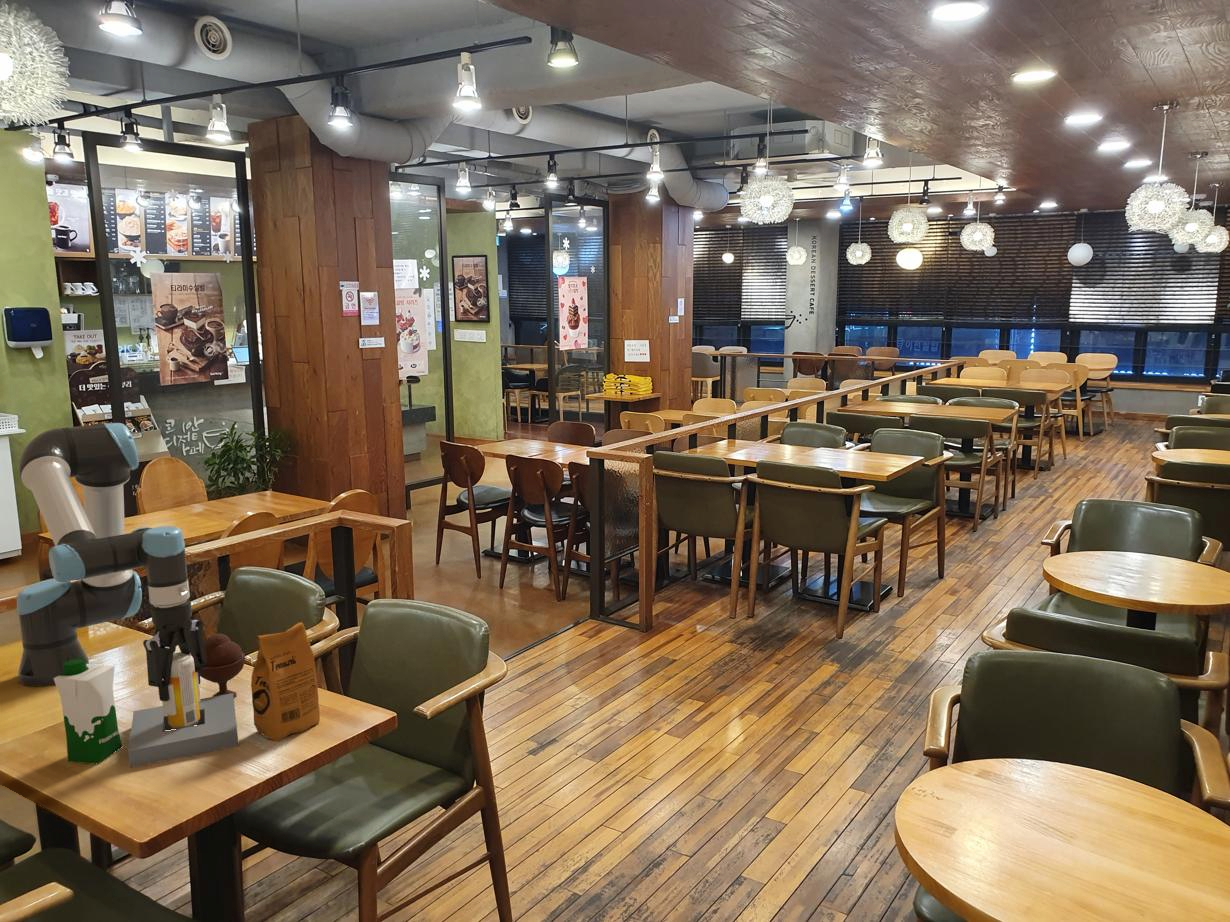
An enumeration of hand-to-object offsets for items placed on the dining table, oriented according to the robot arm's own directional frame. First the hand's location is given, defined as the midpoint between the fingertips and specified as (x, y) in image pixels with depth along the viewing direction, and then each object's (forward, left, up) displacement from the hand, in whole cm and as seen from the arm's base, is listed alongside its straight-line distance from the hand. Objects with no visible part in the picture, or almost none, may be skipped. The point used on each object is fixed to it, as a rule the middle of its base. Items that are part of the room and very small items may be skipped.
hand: (182, 707), depth 195 cm
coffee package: (+6, +20, -7) cm, 22 cm away
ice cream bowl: (-17, +8, -7) cm, 20 cm away
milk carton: (+1, -17, -7) cm, 18 cm away
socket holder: (0, 0, -6) cm, 6 cm away
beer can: (0, 0, -4) cm, 4 cm away
